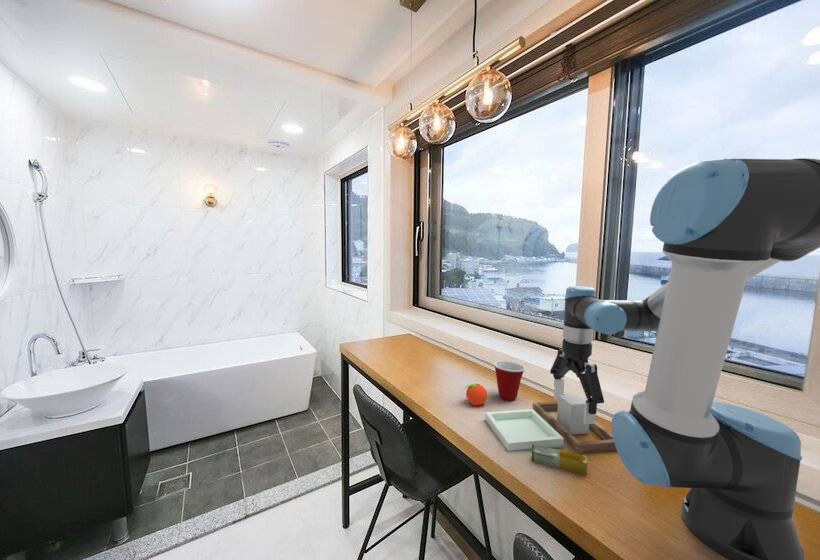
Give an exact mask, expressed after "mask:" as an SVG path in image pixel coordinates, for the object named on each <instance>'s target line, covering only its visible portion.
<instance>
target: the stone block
mask: <svg viewBox="0 0 820 560" xmlns="http://www.w3.org/2000/svg"><path fill="white" fill-rule="evenodd" d="M585 400H586V399H585V398H583V397H582V396H581V395H579V394H577V393H567V394H564V395H558V400H557V401H558V408H557V412H556V413H557V414H556V421H557V422H558V423H559V424H561V425H562V426H563V427H564V428H565V429H566V430H567V431H568V432H570V433H571V434H572V435H585V434H590V433H589V432H590V428H589V424H584V423H583V422H584V408H585Z"/></svg>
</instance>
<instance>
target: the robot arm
mask: <svg viewBox="0 0 820 560" xmlns="http://www.w3.org/2000/svg"><path fill="white" fill-rule="evenodd" d="M649 222H650V224H649V225H650V226H651V227H652V228H651V232H652V233H653V235H654V236H655V238H656V239H657V240H659V241H660V242H662V243H663V247H662V253H663V254H664V255H665V256H666V257H667V258H668V260H669V261H671V266H670V272H669V276H668V280H667V282H666V283H665V284H663V285H662V286H660V287H659V288H658V289H657V290H655V291H654V292H653V293H651V294H650V295H649V296H648V297H646V298H644V299H641V300H630V299H629V300H625V299H623V300H619V299H615V300H614V299H599V298H597V290H596V289H595V288H594V287H591V286H584V285H573V286H572V285H570V286H568V287H567V288H566V289H565V297H564V310H563V311H564V314H563V315H564V316H563V325H562V327H563V329H562V338H563V339H562V344H561V345H562V347H561V349H560V348H559V349H557V353H556V354H557V355H556V357H555V359H554V361H553V363H552V366H551V368H550V371H549V373H550V374H551V375H552V376H553V378H554V382H553V383H554V384H553V386H554V390H553V391H554V392H553V393H554V394H553V399H554V400H555V401H558V395H565V394H564V392H565V391H564V389H565V379H564V378H565V375H566V374H567V373H569V372H570V371H571V372H573V374H575V375H576V377H577V378H578V379H579V381H580V384H581V387H582V389H583V392H584V394H585V398H586V399H585V408H584V422H583V423H584V424H594V422H595V421H596V414H597V409H598V404H604V403H605V399H604V395H603V391H602V387H601V382H600V380H599V375H598V366H597V363H596V364H595V363H594V364H593V363H589V358H590V357H591V356H592V351H593V338H594V337H593V336H594V331H596V332H597V333H600V334H604V335H615V334H618V333H619V332H621V331H626V332H627V331H629V332H630V331H631V332H633V331H634V332H635V331H639V332H657V333H656V337H655V342H654V346H653V347H654V348H653V351H652V357H651V359H650V360H651V361H650V365H649V366H650V367H649V370H648V376H647V380H646V384H645V389H644V390H643V391H640V392H637V393H635V394H633V397H632V400H631V404H630V409H629V411H625V410H621V411H618V412H616V413H614V414H613V416H612V419H611V433H612V436H613V440H614V444H615V446H616V449H617V454H618V456H619V458H620V460H621V462H622V464H623V465H624V467H625V468H626V470H627V471H628V472H629V474H630V475H631V476H632V477H633V478H635V479H636V480H637V481H638V482H640V483H642V484H644V485H647V486H656V487H661V488H668V489H669V488H679V489H680V488H681V489H682V488H684V489H689V491H688V492H687V493H686V495H685V496H684V498H683V500H682V503H681V504H682V506H681V518H682V521H683V522H684V524H685V526H686V527H687V529H688V530H689V531H690V532H691V533H692V534H693V535H694V537H696V538H697V539H698V540H699V541H700V542H702V543H703V544H704V545H706V547H708V548H709V549H711V550H712V551H714V552H715V553H717V554H718V555H720V556H721V557H723V558H724V559H727V560H805V553H804V550H803V548H802V544H801V542H800V538H799V535H798V532H797V528H796V526H795V522H794V520H793V515H794V513H793V512H794V506H795V500H796V493H797V487H798V480H799V472H800V467H801V461H802V460H803V457H802V455H801V454H802V453H801V451H802V442H801V437H800V436H799V435H798V433H797V432H796V431H794V430H793V429H792V428H791V427H789V426H788V425H786V424H784V423H783V422H780V421H779V420H776V419H774V418H772V417H769V416H767V415H766V414H764V413H763V414H762V413H760V412H757V411H755V410H752V409H748V408H747V407H742V406H738V405H734V404H731V403H726V402H722V401H721V402H720V401H714V399H715V395H716V392H717V389H718V385H719V381H720V377H721V373H722V371H723V367H724V363H725V359H726V356H727V353H728V349H729V345H730V342H731V338H732V334H733V330H734V327H735V324H736V319H737V316H738V313H739V309H740V306H741V302H742V299H743V295H744V291H745V288H746V284H747V281H748V280H749V279H751V278H753V277H755V276H757V275H758V274H761V273H762V272H763V271H766V270H767V269H769V268H771V267H773V266H774V265H776V264H777V263H779V262H789V263H790V262H795V261H797V260H800V259H801V258H803V257H805V256H806V255H809V254H810V253H813V252H814V251H816V250H818V249H820V159H817V158H807V157H806V158H801V157H800V158H792V159H791V158H790V159H789V158H787V159H786V158H785V159H783V158H781V159H779V158H778V159H777V158H723V159H715V160H714V159H713V160H704V161H703V160H702V161H697V162H693V163H691V164H688V165H686V166H683V167H682V168H680V169H679V170H677V171H676V172H674V173H673V174H672V176H671V177H670V178H669V179H667V180H666V181H665V182H664V184H663V185H662V187H660V189H659V191H658V192H657V193H656V196H655V198H654V200H653V202H652V206H651V209H650V215H649Z"/></svg>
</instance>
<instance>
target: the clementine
mask: <svg viewBox="0 0 820 560" xmlns="http://www.w3.org/2000/svg"><path fill="white" fill-rule="evenodd" d="M465 389H466V392H465V395H466V399H467V401H468V402H469V403H470V404H471V405H473V406H481V405H483V404H484V403H485V402H486V401H487V397H488V393H487V390H486V388H485V387H484V386H483V385H482V384H480V383H471V384H468V385H466V386H464V388H463V390H462V391H463V392H464V391H465Z"/></svg>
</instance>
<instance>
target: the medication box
mask: <svg viewBox="0 0 820 560" xmlns="http://www.w3.org/2000/svg"><path fill="white" fill-rule="evenodd" d="M531 461H532V462H537V463H539V464H544V465H547V466H551V467H555V468H558V469H563V470H566V471H569V472H570V471H571V472H575V473H579V474H582V475H585V476H586V475H588V473H587V472H588V458H587V456H586V455H583V454H581V453H574V452H570V451H566V450H560V449H557V448H547V447H542V446H538V445H534V444H532V450H531Z"/></svg>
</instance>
